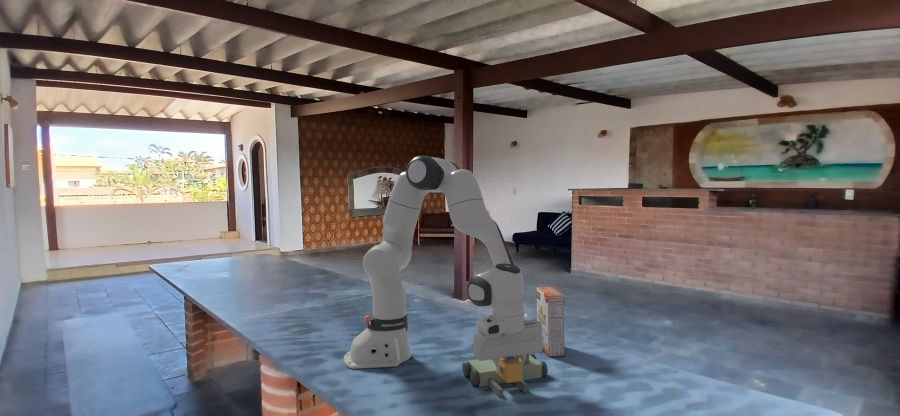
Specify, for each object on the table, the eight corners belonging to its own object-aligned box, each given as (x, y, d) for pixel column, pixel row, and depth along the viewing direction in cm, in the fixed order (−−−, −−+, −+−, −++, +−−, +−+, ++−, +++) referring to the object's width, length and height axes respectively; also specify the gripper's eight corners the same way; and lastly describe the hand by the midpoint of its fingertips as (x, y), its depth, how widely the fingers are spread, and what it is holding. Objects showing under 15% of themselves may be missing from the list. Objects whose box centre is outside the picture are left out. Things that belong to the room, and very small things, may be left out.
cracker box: (536, 343, 168) (535, 286, 167) (552, 342, 169) (552, 286, 168) (547, 357, 154) (547, 295, 153) (565, 356, 155) (564, 294, 154)
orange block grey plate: (507, 383, 126) (507, 362, 126) (497, 373, 133) (496, 353, 132) (522, 380, 127) (522, 359, 127) (511, 371, 134) (511, 351, 134)
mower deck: (484, 399, 124) (484, 370, 124) (462, 373, 142) (461, 347, 142) (560, 387, 131) (560, 359, 131) (530, 364, 149) (530, 339, 148)
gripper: (536, 315, 136) (537, 362, 136) (470, 323, 129) (471, 372, 130) (547, 321, 130) (547, 370, 130) (479, 329, 123) (479, 380, 124)
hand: (509, 371), depth 130 cm, fingers closed on orange block grey plate, 4 cm apart
